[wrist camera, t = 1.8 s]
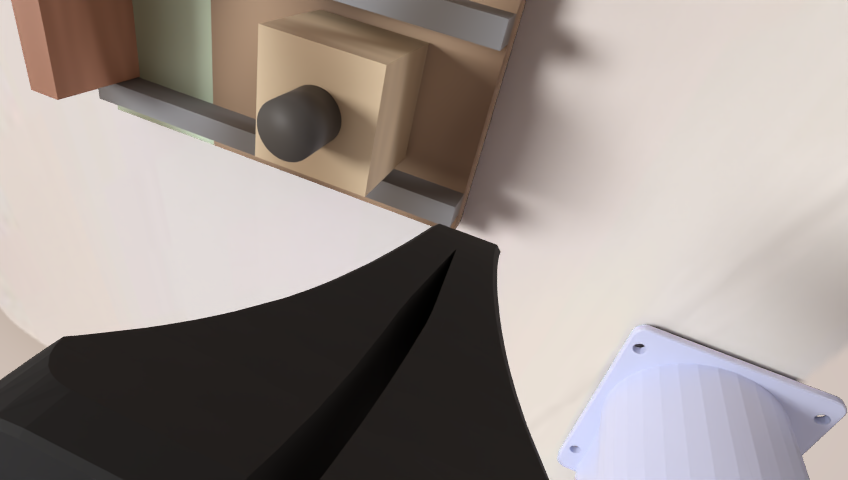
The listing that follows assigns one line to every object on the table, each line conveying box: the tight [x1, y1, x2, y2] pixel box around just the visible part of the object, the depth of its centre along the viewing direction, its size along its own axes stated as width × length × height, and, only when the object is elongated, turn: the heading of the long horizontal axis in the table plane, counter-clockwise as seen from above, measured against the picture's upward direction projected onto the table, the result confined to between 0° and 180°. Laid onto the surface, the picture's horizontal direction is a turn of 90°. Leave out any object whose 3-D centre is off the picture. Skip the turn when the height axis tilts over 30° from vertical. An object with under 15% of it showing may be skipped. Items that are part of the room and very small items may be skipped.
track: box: [11, 0, 526, 229], centre depth 18 cm, size 16×9×5 cm, turn 77°
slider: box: [255, 10, 429, 197], centre depth 16 cm, size 4×4×5 cm
